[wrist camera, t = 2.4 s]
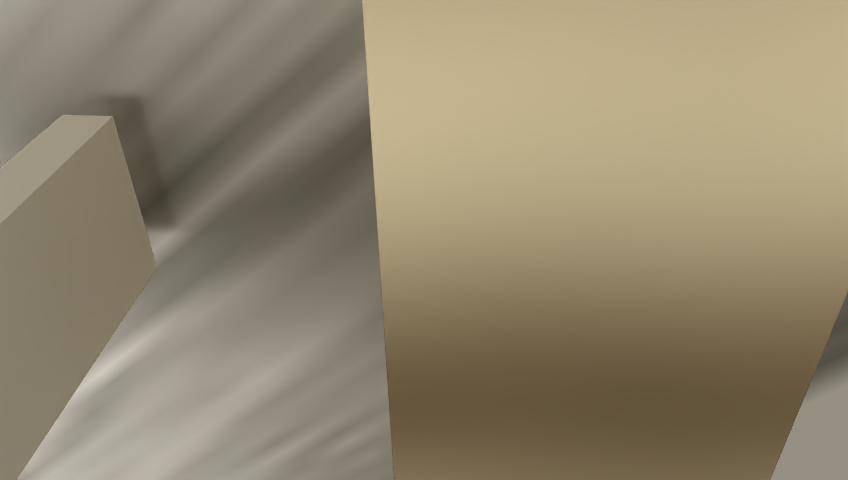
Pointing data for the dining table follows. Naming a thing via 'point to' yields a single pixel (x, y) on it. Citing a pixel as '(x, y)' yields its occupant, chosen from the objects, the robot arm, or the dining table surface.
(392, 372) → the tan long bar
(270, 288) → the dining table surface
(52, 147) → the robot arm
